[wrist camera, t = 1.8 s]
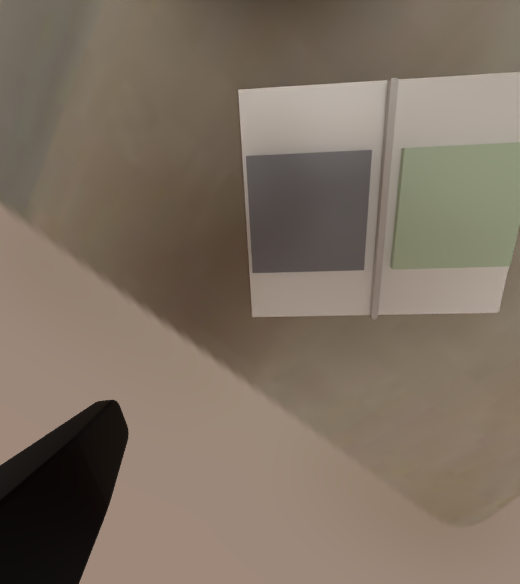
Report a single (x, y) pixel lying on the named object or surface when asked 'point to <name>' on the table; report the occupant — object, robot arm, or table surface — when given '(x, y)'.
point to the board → (381, 195)
